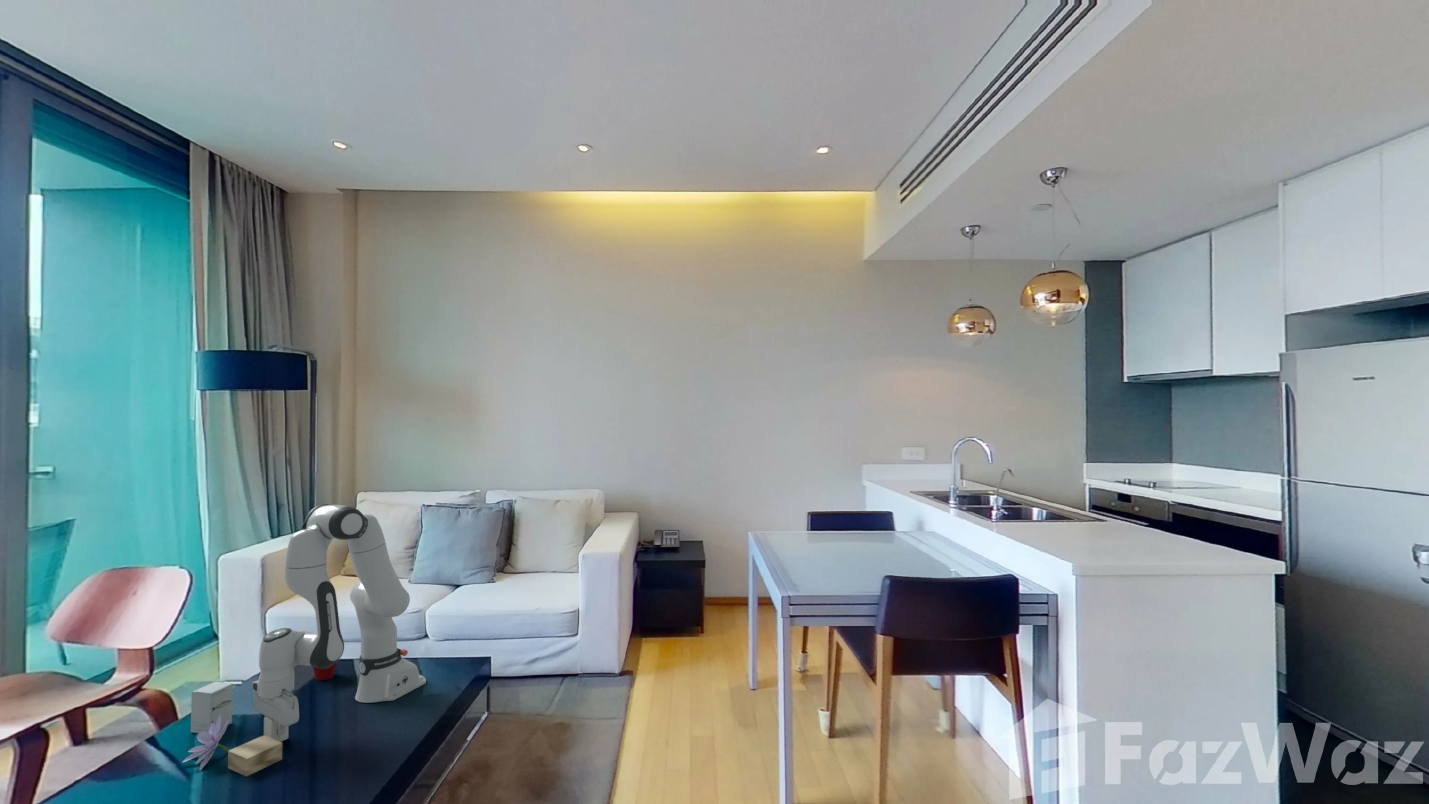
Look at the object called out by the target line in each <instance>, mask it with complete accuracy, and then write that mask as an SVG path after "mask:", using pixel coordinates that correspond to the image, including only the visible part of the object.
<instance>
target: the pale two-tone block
mask: <svg viewBox="0 0 1429 804" xmlns="http://www.w3.org/2000/svg"><path fill="white" fill-rule="evenodd" d="M278 727H279V725H278V722H276V721H274V720H273V718H271V717H269V716H267V715H266V717H265V716H264V717H263V735H265V736H267V737H270V738H272V739H275V740H277V741H280V742H283V741H285V740H288V739H289V727H290V725H289V726H287V727H286V733H285V734H284V735H282V736H278V735H277V729H278Z"/></svg>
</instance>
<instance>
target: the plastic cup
mask: <svg viewBox="0 0 1429 804" xmlns="http://www.w3.org/2000/svg"><path fill="white" fill-rule="evenodd" d="M336 667H337V662H336V663H335V664H334V665H332V666H331V667H329V668H326V669H320V668H316V667H313V666H312V669H313V670H312V671H313V674H314V675H313V676H314V679H315V680H316V681H325V680H329V679H332V678H333V677H334V675H335V670H336Z"/></svg>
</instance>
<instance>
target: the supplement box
mask: <svg viewBox="0 0 1429 804" xmlns="http://www.w3.org/2000/svg"><path fill="white" fill-rule="evenodd" d="M233 685H234V684H233V683H232V682H220V681H214V682H211V683H209V684H206V685H204V686H202V687H200V688H197V689H195V690H193V691H191V702H190V704H191V707H190V708H191V709H190V710H191V711H190V733H196V734H199V733H201V731H206V732H208V733H209V728H210V726H211V724H212V723H215V725H216V722H217V719H218V717H219V715H220V714H221V718H222V725H221V727H222V728H223V726H224V725H225V723H226V722H227V721H228V720H229V723H228V726H229V725H231V724H233V692H234V691H233V689H234V688H233V687H234V686H233Z"/></svg>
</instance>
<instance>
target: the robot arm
mask: <svg viewBox="0 0 1429 804" xmlns="http://www.w3.org/2000/svg"><path fill="white" fill-rule="evenodd" d="M333 540H342V541H346V543H347V545H348V551H349V557H350V559H351V565H352V569H353V572H354V574H355V575H356V577H357V578H358V579H359V581H358V582H356V583H355V584H354V585H353V587H352V589H351V591H350V594H349V597H350V599H349V600H350V601H351V603H352V604H353V606H354V609H355V613H356V617H357V621H358V625H359V630H360V655H359V658H358V659H359V661H358V662H359V663H358V664H359V666H358V667H359V668H358V669H359V671H358V672H359V680H358V685H357V686H358V687H357V691H356V693H355V696H354V699H355V701H357V702H359V703H365V704H366V703H367V704H368V703H372V704H373V703H378V702H386V701H387V702H390V701H391V702H392V701H395V700H397V699H399V698H401V697H403V696H404V695H407V694H409V693H411V692H412V691H414V690H415V689H418V688H420V687H422V686H423V685H425V684H427V679H426V677H425V676H423V675H422V674H420V670H419V669H418V668H419V667H418V666H417V665H416V664H415V663H413V662H411V661H410V660H407V659H405V658H403V657H406V656H407V655H408V653H409V651H408V650H407V649H404V648H402V649H401V648H398V628H397V625H396V623H395V622H394V620H393V618H395V617H399V616H401V615H403V613H405V612H406V610H407V609H408V608H409V605H410V601H411V597H410V594H409V592H408V591H407V590H406V589H405V588H404V586H403V584H402V583H401V581H400V579H399V577H398V575H397V573H396V571H395V569H394V567H393V564H392V562H391V559H390V556H389V550H388V547H387V542H386V540H385V535H384V533H383V529H382V527H381V525H380V523H379V520H378V519H377V517H375V516H374V515H373V514H363V512H361V511H360V510H359V509H357V508H356V507H353V506H347V505H344V504H343V505H342V504H330V503H329V504H327V503H326V504H319V505H317V506H315V507H313V508H312V509H310V510H309V512H308V513H307V514H306V516H305V519H304V522H303V524H302V525H301V530H298V531H296V532H294V533H293V534H292V535H291V536H290V539H289V542H288V544H287V548H286V549H287V550H286V554H285V555H286V556H285V565H284V566H285V567H284V580H285V584H286V587H287V588H288V589H289V590H290V591H291V592H292V593H294V594H296V595H298V596H299V597H301V598H303V599H304V600H306V601H307V602H308V603H309V604H311V606H312V607H313V609H314V611H315V621H316V631H317V632H315V631H305V630H302V631H301V630H300V631H298V630H293V629H291V628H289V627H282V628H278V629H274V630H271V631H269V632H268V633H267V634H265V635H264V636H263V637H262V640H261V642H260V647H259V654H258V666H259V669H260V671H259V672H260V673H259V677H258V679H257V680H255V681H253V682H252V683H251V689H252V690H253V692H252V693H253V694H252V695H253V697H252V699H253V707H254V710H255V712H258V713H260V714H261V715H263V716H264V717H266V715H267V716H269V717H271V718H273V720H274V721H276V722H278V725H279V727H278V729H277V735H278V736H282V735H284V734H285V733H286V727H287V726H289V727H290V726H291V725H294V724H296V723H298V722H299V719H300V708H299V706H300V705H299V700H298V697H297V696H296V695H295V694H294V693H293V692H292V691H294V689H295V675H296V674H295V673H296V671H295V667H296V666H299V665H300V666H307V667H312V668H313V667H316V668H320V669H326V668H329V667H331V666H332V665H334V664H335V663H336V664H337V662H338V661H339V660H340V658H341V657H342V656H343V654H344V651H345V642H344V638H343V635H342V632H341V627H340V626H341V625H340V620H339V619H340V616H339V609H338V600H337V592H336V588H335V587H334V584H333V583H332V582H331V580H330V576H329V571H328V553H327V552H328V549H329V546H330V544H331V543H332V542H333Z"/></svg>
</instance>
